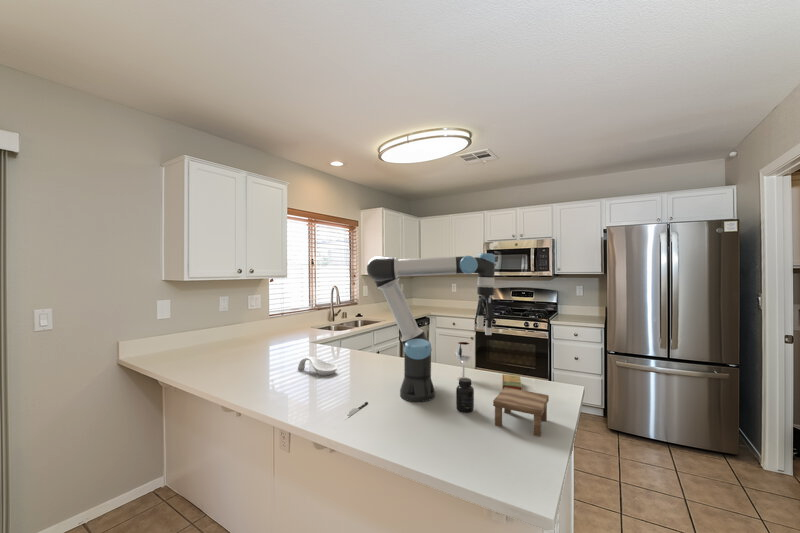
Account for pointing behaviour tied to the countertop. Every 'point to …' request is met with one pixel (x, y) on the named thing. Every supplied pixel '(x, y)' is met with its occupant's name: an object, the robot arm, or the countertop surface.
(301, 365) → the spoon rest
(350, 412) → the chef's knife
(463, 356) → the wineglass
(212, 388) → the countertop surface
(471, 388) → the supplement bottle
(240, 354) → the countertop surface
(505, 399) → the footstool
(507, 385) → the carton
